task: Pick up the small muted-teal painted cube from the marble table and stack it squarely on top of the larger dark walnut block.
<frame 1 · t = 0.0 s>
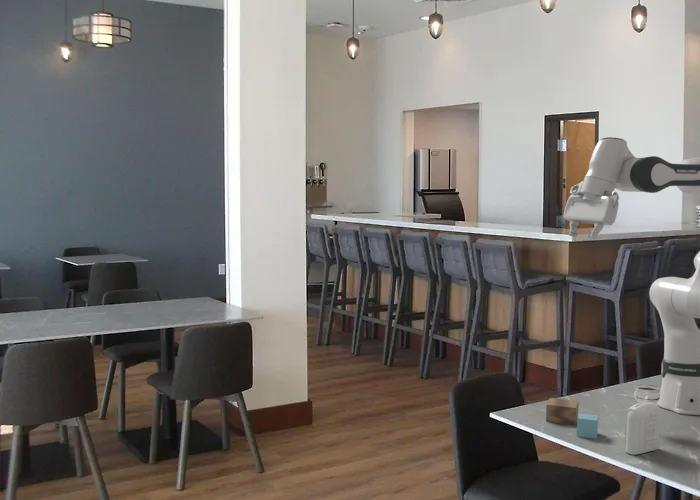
hand: (581, 237, 225), 52 cm above the table, tool tilted 20°, fingers open, 8 cm apart
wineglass: (645, 431, 217), on the table
teal cube: (587, 435, 213), on the table
walnut block: (562, 419, 227), on the table
white plastic bottle: (641, 451, 201), on the table
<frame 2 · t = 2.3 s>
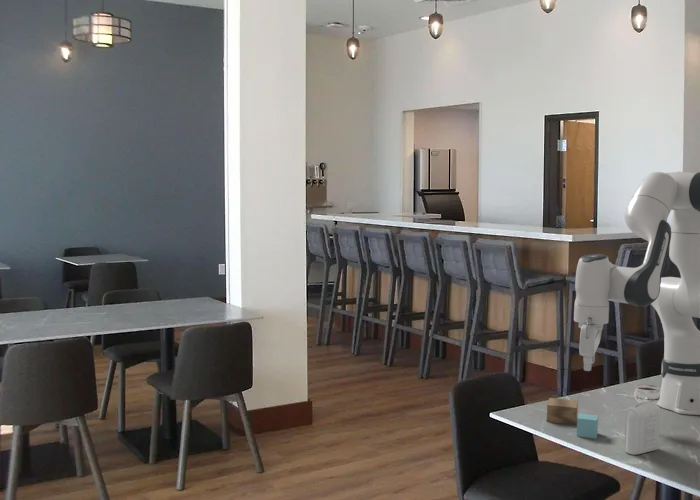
hand: (589, 366, 212), 19 cm above the table, tool pointing down, fingers open, 8 cm apart
nothing on the table moved.
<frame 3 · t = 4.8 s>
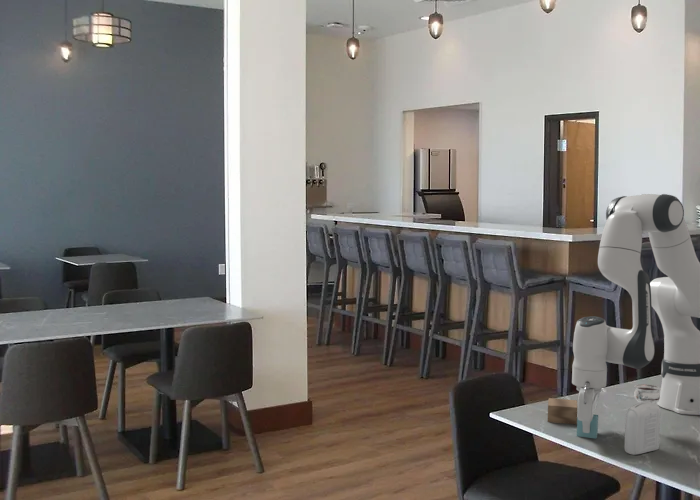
hand: (587, 428, 213), 2 cm above the table, tool pointing down, fingers closed on teal cube, 5 cm apart
teal cube: (587, 434, 213), on the table, touching gripper
everything else where it was.
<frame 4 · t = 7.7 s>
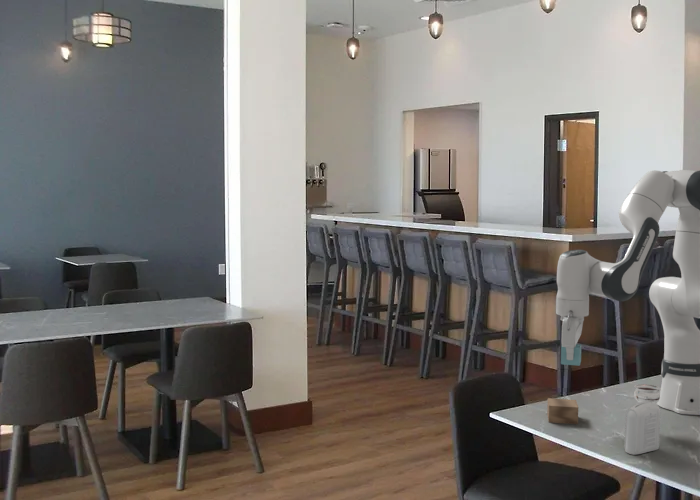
hand: (571, 357, 222), 19 cm above the table, tool pointing down, fingers closed on teal cube, 5 cm apart
teal cube: (570, 363, 222), point 17 cm above the table, touching gripper
everything else where it was.
when the fingers open (8 cm above the table, at t = 10.6 s): teal cube drops 1 cm, resting on walnut block.
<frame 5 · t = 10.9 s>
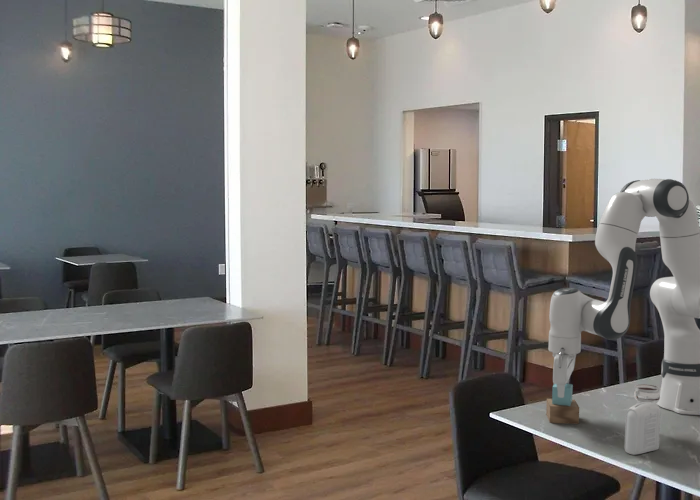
hand: (563, 393, 227), 8 cm above the table, tool pointing down, fingers open, 8 cm apart
teal cube: (562, 402, 227), point 5 cm above the table, touching walnut block
walnut block: (562, 419, 227), on the table, touching teal cube
everything else where it was.
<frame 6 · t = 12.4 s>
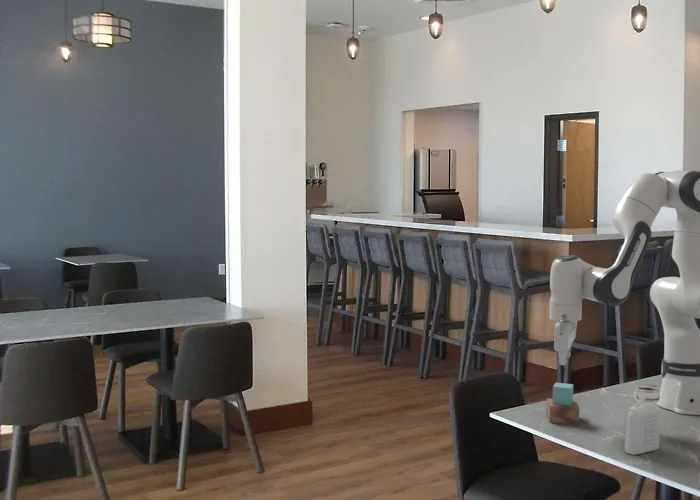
hand: (564, 360, 226), 17 cm above the table, tool pointing down, fingers open, 8 cm apart
nothing on the table moved.
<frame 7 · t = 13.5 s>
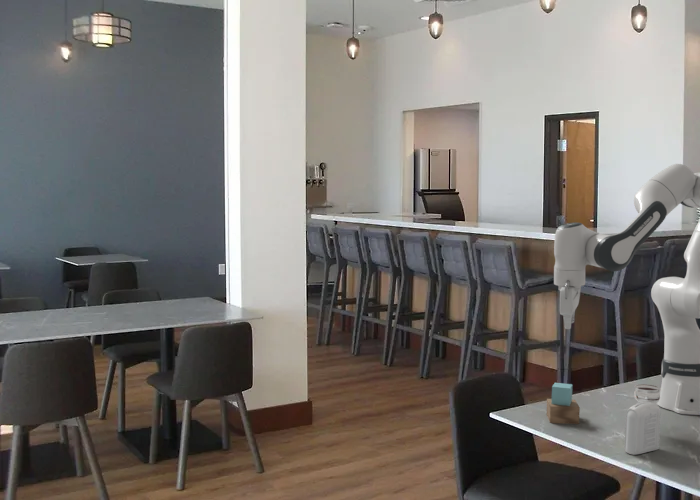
hand: (569, 325, 232), 26 cm above the table, tool pointing down, fingers open, 8 cm apart
nothing on the table moved.
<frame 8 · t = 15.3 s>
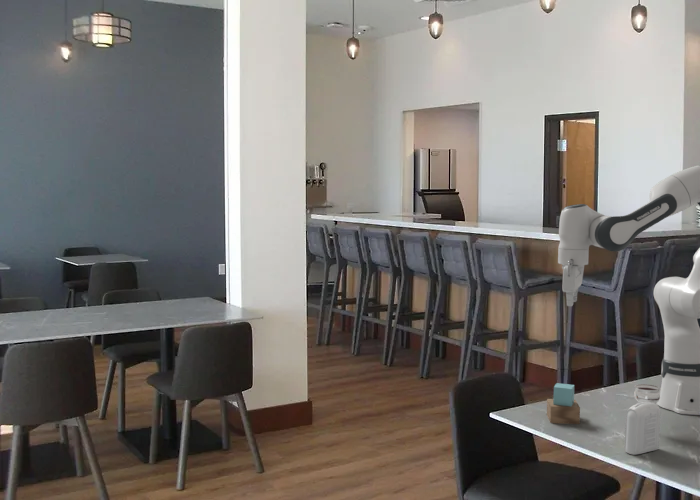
hand: (571, 303, 240), 31 cm above the table, tool pointing down, fingers open, 8 cm apart
nothing on the table moved.
at the end: teal cube 0.2 cm off-centre on the walnut block, point 5.0 cm above the walnut block's base; teal cube tilted 0°; the gripper is holding nothing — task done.
